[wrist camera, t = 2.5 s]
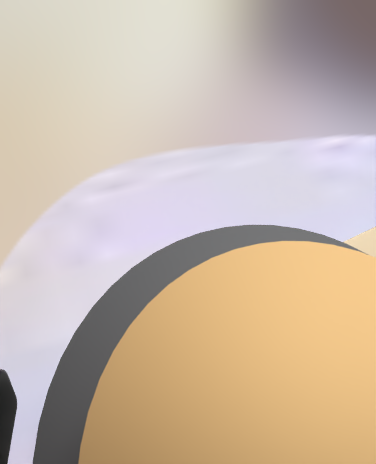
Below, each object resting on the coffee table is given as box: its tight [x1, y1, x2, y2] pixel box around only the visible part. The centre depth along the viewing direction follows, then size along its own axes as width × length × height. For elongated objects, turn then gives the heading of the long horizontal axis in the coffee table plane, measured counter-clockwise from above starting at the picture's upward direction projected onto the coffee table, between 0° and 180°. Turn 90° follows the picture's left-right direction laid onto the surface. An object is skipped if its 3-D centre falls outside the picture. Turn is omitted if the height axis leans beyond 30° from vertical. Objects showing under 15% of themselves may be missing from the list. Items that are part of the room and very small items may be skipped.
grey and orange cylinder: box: [33, 225, 376, 464], centre depth 8 cm, size 4×4×13 cm
